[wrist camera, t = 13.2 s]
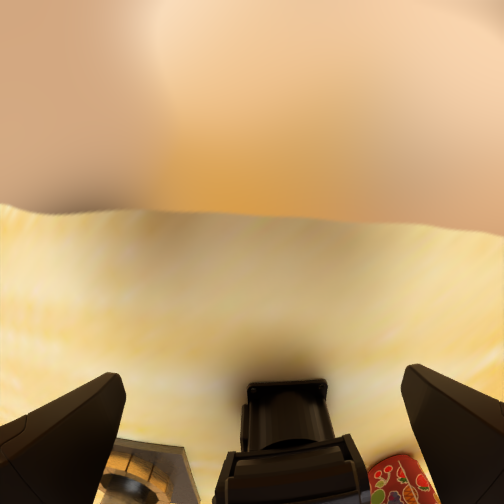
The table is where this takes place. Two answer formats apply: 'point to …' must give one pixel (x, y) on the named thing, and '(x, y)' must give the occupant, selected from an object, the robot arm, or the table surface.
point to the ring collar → (153, 471)
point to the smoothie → (400, 482)
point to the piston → (125, 491)
